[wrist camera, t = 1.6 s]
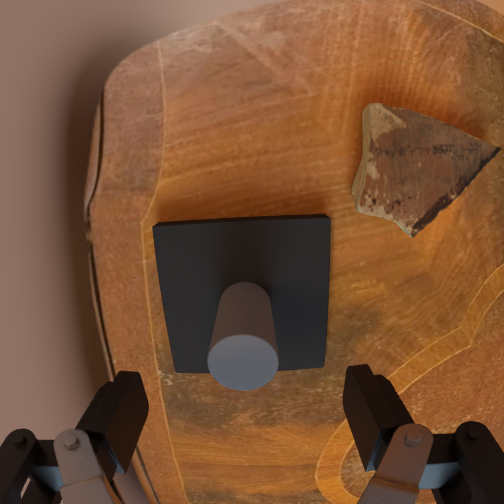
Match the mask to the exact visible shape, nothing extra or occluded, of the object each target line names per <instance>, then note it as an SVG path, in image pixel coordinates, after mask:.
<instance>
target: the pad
mask: <svg viewBox="0 0 504 504" xmlns="http://www.w3.org/2000/svg"><path fill="white" fill-rule="evenodd" d="M152 228H153V237H154V245H155V254H156V261H157V269H158V276H159V283H160V289H161V296H162V302H163V308H164V314H165V320H166V325H167V331H168V336H169V342H170V347H171V352H172V357H173V362H174V366H175V371H176V373H211V374H212V376H213V377H214V378H215V379H216V380H217V381H218V382H219V383H220V384H222V385H224V386H226V387H228V388H231V389H235V390H253V389H256V388H259V387H262V386H264V385H265V384H267V383H268V382H269V381H270V380H271V379H272V378H273V377H274V376H275V374H276V372H277V371H285V370H298V369H310V368H320V367H324V361H325V349H326V335H327V319H328V300H329V275H330V217H329V216H327V215H325V214H314V215H285V216H261V217H240V218H221V219H204V220H188V221H173V222H159V223H157V224H155V225H154V226H153V227H152Z"/></svg>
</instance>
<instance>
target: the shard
mask: <svg viewBox="0 0 504 504" xmlns="http://www.w3.org/2000/svg"><path fill="white" fill-rule="evenodd" d="M362 138H363V143H362V144H363V149H362V158H361V161H360V164H359V167H358V170H357V172H356V174H355V179H354V182H353V186H352V189H351V194H352V195H354V201H355V208H356V210H357V211H358V212H360V213H363V214H367V215H371V216H377V217H380V218H383V219H387V220H390V221H393V222H395V223H397V224H398V225H399V227H400V228H401V229H402V230H403V231H404V232H405V233H407V234H408V235H409V236H410V237H411V238H413V237H414V236H416V234H417V233H418V232H419V231H421V230H423V229H424V227H425V226H426V225H428V224H430V223H431V222H432V221H433V220H434V219H435V218H436V217H437V216H438V214H439V212H441V211H442V210H444V209H446V208H447V207H448V206H449V205H450V204H451V203H452V202H453V201H454V200H455V199H456V198H457V197H458V196H460V195H461V194H462V193H463V192H464V191H465V189H466V188H467V187H468V186H469V185H470V184H471V183H472V182H473V181H474V180H475V178H476V177H477V176H478V175H479V173H480V172H481V171H482V169H483V168H484V167H485V165H486V164H487V163H488V162H490V160H491V159H493V158H495V156H496V155H497V154H498V152H499V151H500V150H501V148H500V147H497V146H495V145H493V144H491V143H489V142H487V141H485V140H482V139H478V138H476V137H474V136H472V135H470V134H468V133H466V132H464V131H461V130H460V129H459V128H457V127H455V126H453V125H450V124H448V123H445V122H442V121H440V120H438V119H437V118H434V117H431V116H429V115H423V114H421V113H419V112H417V111H412V110H409V109H405V108H402V107H400V108H394V107H391V106H388V105H386V104H382V103H369V104H368V105H367V106H366V107H365V108H364V109H363V111H362Z"/></svg>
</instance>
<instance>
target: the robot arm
mask: <svg viewBox="0 0 504 504" xmlns="http://www.w3.org/2000/svg"><path fill="white" fill-rule="evenodd" d="M343 408H344V412H345V415H346V418H347V420H348V423H349V426H350V429H351V432H352V435H353V437H354V440H355V443H356V446H357V449H358V452H359V455H360V458H361V461H362V464H363V466H364V469H365V472H367V471H371V470H375V471H376V472H375V474H374V476H372V478H371V480H370V481H369V483H368V485H367V487H366V489H365V490H364V492H363V494H362V496H361V497H360V499H359V501H358V502H357V504H415V501H416V499H417V496H418V493H419V490H420V489H431V490H432V493H433V495H434V498H435V500H436V503H437V504H504V453H503V451H502V449H501V448H500V446H499V445H498V443H497V442H496V440H495V439H494V437H493V436H492V434H491V432H490V431H489V430H488V428H487V427H486V426H485V425H483V424H482V423H479V422H475V421H468V422H465V423H462V424H461V425H460V426H458V428H457V429H456V432H455V433H450V434H432V432H431V431H430V430H429V429H428V428H427V427H425V426H423V425H420V424H415V423H414V421H413V419H412V417H411V416H410V414H409V412H408V411H407V409H406V407H405V405H404V404H403V402H402V400H401V399H399V395H398V394H397V392H395V389H394V387H393V385H392V384H391V382H390V381H389V380H388V379H386V378H385V377H384V376H382V375H381V374H379V375H374V374H373V373H372V371H371V369H370V367H369V366H368V364H361V365H354V366H348V367H347V371H346V378H345V385H344V391H343ZM148 411H149V404H148V399H147V396H146V393H145V389H144V386H143V382H142V379H141V376H140V374H139V372H132V371H119V372H118V374H117V376H116V377H115V379H114V381H113V382H107V383H106V384H105V385H103V386H102V387H101V388H100V389H99V390H98V392H97V393H96V395H95V398H94V399H93V400H92V402H91V403H90V405H89V407H88V408H87V410H86V411H85V413H84V414H83V416H82V418H81V419H80V421H79V423H78V425H77V426H76V428H75V429H69V430H65V431H63V432H61V433H60V434H58V435H57V437H56V438H55V440H37V439H36V437H35V435H34V434H33V432H31V431H30V430H28V429H17V430H14V431H13V432H11V433H10V434H9V435H8V436H7V437H6V439H5V441H4V442H3V443H2V445H1V447H0V504H60V502H61V500H63V503H64V504H126V503H125V501H124V499H123V497H122V495H121V494H120V491H119V489H118V487H117V485H116V483H115V481H114V480H113V477H114V474H115V472H117V473H122V474H126V472H127V469H128V467H129V464H130V461H131V458H132V456H133V453H134V450H135V448H136V445H137V442H138V439H139V437H140V434H141V432H142V429H143V426H144V424H145V421H146V418H147V416H148ZM28 477H29V479H30V482H29V484H28V486H27V489H26V491H25V493H24V495H23V497H22V499H21V496H20V495H21V491H22V489H23V487H24V484H25V483H26V481H27V479H28Z"/></svg>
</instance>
